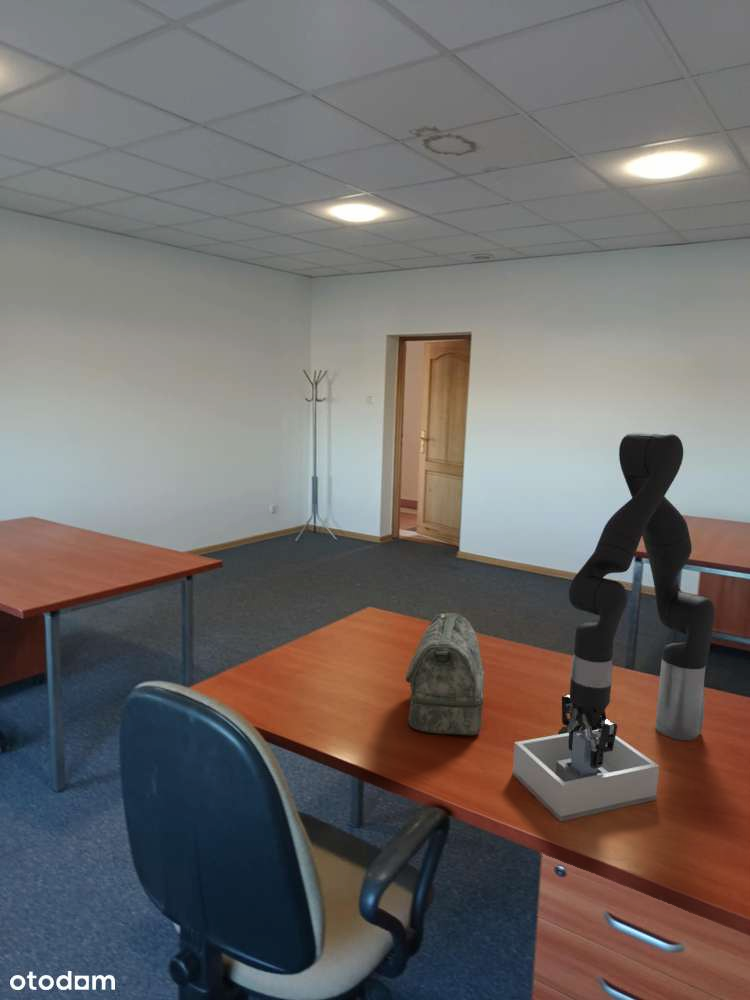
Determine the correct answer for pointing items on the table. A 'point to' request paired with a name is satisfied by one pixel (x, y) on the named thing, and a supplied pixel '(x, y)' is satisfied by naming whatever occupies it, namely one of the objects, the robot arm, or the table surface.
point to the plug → (582, 754)
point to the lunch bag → (447, 678)
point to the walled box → (574, 796)
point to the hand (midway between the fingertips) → (584, 758)
